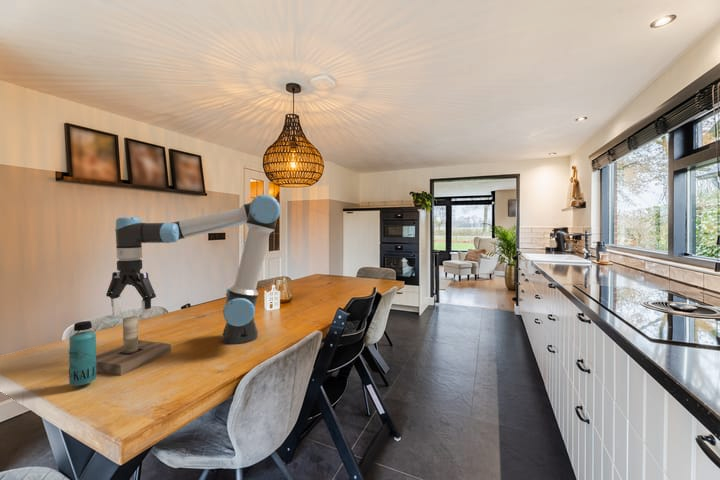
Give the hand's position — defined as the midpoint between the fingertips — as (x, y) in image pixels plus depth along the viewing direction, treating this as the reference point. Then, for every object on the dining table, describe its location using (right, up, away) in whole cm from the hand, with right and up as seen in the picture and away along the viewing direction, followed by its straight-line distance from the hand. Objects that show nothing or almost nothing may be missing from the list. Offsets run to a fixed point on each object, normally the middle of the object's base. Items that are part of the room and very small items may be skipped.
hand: (131, 316), depth 114 cm
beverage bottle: (-1, -17, -18) cm, 25 cm away
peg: (0, -17, 0) cm, 17 cm away
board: (-1, -17, 0) cm, 17 cm away
